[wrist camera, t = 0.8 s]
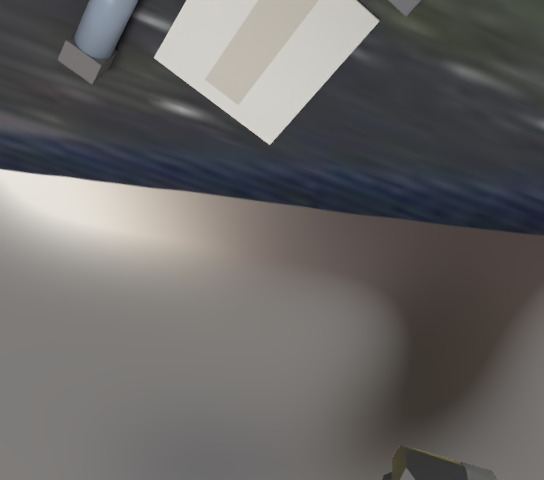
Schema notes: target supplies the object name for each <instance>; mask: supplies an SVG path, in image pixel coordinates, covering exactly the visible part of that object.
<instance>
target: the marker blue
mask: <svg viewBox="0 0 544 480" xmlns="http://www.w3.org/2000/svg"><path fill="white" fill-rule="evenodd" d="M137 2H138V0H89V2H88V5H87V7H86V9H85V12H84V14H83V17H82V19H81V21H80V24H79V26H78V29H77V31H76V33H75V34H74V35H72V36H71V37H69V38H68V39H67V40H66V41H65V44H64V46H63V49H62V51H61V53H60V56H59V58H58V61H60V62H61V63H63V64H64V65H65V66H67V67H68V68H70V69H71V70H72V71H74V72H75V73H77V74H78V75H80V76H81V77H82V78H84V79H85V80H87V81H88V82H89V83H91V84H93V83H94V82H96V81H97V80H98V79H99V78H100V77H101V76H102V75H103V74H104V73H105V72H106V71H108V70H109V68H110V66H111V64H112V62H113V60H114V58H115V56H116V54H117V52H118V51H117V50H116V49H115V47H116V45H117V43H118V41H119V39H120V37H121V35H122V33H123V31H124V28H125V26H126V24H127V22H128V20H129V18H130V16H131V14H132V12H133V10H134V8H135V6H136V4H137Z"/></svg>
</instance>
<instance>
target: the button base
mask: <svg viewBox="0 0 544 480" xmlns="http://www.w3.org/2000/svg"><path fill="white" fill-rule="evenodd" d="M389 1H390V2H391V3H392V4H393V5H394V6H395V7H396V8H397V9H398V10H399V11H401V12H402V13H403V14H404V15H405V16H407V15H408V14H409V13H410V12H411V11H412V9H413V8H414V7H415V6H416V5H417V4H418V3H419V2H420V1H421V0H389Z"/></svg>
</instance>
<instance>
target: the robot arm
mask: <svg viewBox="0 0 544 480" xmlns="http://www.w3.org/2000/svg"><path fill="white" fill-rule="evenodd" d="M382 480H497V478H496V476H495V475H494V473H493V472H492V471H491V470H488V469H484V468H481V467H477V466H474V465H470V464H467V463H463V462H459V461H457V460H454V459H450V458H447V457H443V456H439V455H436V454H432V453H429V452H425V451H421V450H418V449H414V448H411V447H407V446H403V445H401V446H400V447H398V448H397V450H396V452H395V454H394V455H393V457H392V472H390V473H388V474H386V475H384V476H383V478H382Z"/></svg>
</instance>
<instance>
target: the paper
mask: <svg viewBox="0 0 544 480" xmlns="http://www.w3.org/2000/svg"><path fill="white" fill-rule="evenodd" d="M379 21H380V20H379V19H378V18H377V17H376V16H375V15H374V14H372V13H371V12H370V11H369V10H368V9H367V8H366V7H365V6H364V5H363V4H361V3H360V2H359V1H358V0H186V2H185V4H184V6H183V7H182V9H181V11H180V13H179V14H178V16H177V18H176V20H175V21H174V23H173V25H172V27H171V29H170V30H169V32H168V34H167V36H166V37H165V39H164V41H163V43H162V44H161V46H160V48H159V50H158V51H157V53H156V55H155V57H154V58H155V59H156V60H157V61H159V62H160V63H161V64H163V65H164V66H165V67H167V68H168V69H169V70H171V71H172V72H173V73H175V74H176V75H177V76H179V77H180V78H181V79H183V80H184V81H185V82H187V83H188V84H189V85H191V86H192V87H193V88H195V89H196V90H197V91H199V92H200V93H201V94H203V95H204V96H205V97H207V98H208V99H209V100H211V101H212V102H213V103H215V104H216V105H217V106H219V107H220V108H221V109H223V110H224V111H225V112H227V113H228V114H229V115H231V116H232V117H233V118H235V119H236V120H237V121H239V122H240V123H241V124H243V125H244V126H245V127H247V128H248V129H249V130H251V131H252V132H253V133H255V134H256V135H257V136H259V137H260V138H261V139H263V140H264V141H265V142H267V143H268V144H269V145H270V144H271V143H272V142H273V141H274V140H275V139H276V137H277V136H278V135H279V134H280V133H281V132H282V131H283V129H284V128H285V127H286V126H287V125H288V124H289V123H290V122H291V120H292V119H293V118H294V117H295V116H296V115H297V114H298V113H299V111H300V110H301V109H302V108H303V107H304V106H305V105H306V104H307V102H308V101H309V100H310V99H311V98H312V97H313V96H314V95H315V93H316V92H317V91H318V90H319V89H320V88H321V87H322V86H323V84H324V83H325V82H326V81H327V80H328V79H329V78H330V77H331V75H332V74H333V73H334V72H335V71H336V70H337V69H338V68H339V66H340V65H341V64H342V63H343V62H344V61H345V60H346V58H347V57H348V56H349V55H350V54H351V53H352V52H353V51H354V49H355V48H356V47H357V46H358V45H359V44H360V43H361V42H362V40H363V39H364V38H365V37H366V36H367V35H368V34H369V33H370V31H371V30H372V29H373V28H374V27H375V26H376V25H377V24H378V22H379Z"/></svg>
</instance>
